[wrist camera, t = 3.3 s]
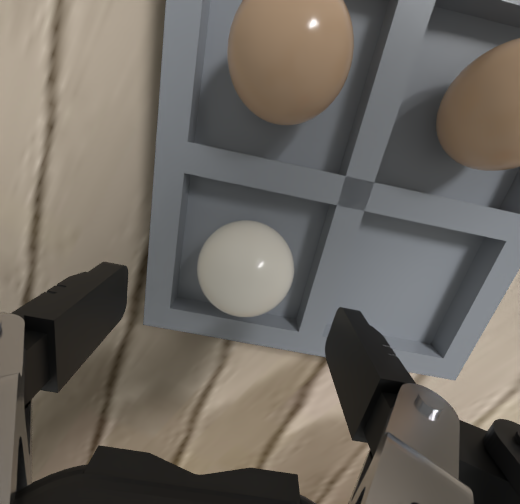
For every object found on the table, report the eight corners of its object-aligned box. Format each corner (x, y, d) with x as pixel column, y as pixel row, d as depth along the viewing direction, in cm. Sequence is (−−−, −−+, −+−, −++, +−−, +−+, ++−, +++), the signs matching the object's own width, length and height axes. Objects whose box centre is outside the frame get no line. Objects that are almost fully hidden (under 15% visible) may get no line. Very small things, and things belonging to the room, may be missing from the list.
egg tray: (606, 23, 13) (675, -4, 11) (433, 355, 20) (455, 380, 18) (192, -86, 12) (176, -141, 10) (157, 304, 19) (143, 324, 17)
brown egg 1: (348, 26, 13) (399, -50, 8) (319, 139, 14) (346, 131, 10) (244, 0, 12) (231, -95, 8) (226, 118, 14) (207, 100, 9)
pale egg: (298, 221, 16) (313, 248, 11) (279, 295, 18) (284, 346, 13) (214, 203, 16) (192, 224, 11) (202, 280, 17) (179, 327, 13)
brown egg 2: (536, 73, 13) (687, 27, 8) (487, 177, 15) (590, 187, 10) (439, 49, 13) (540, -12, 8) (400, 157, 15) (465, 158, 10)
